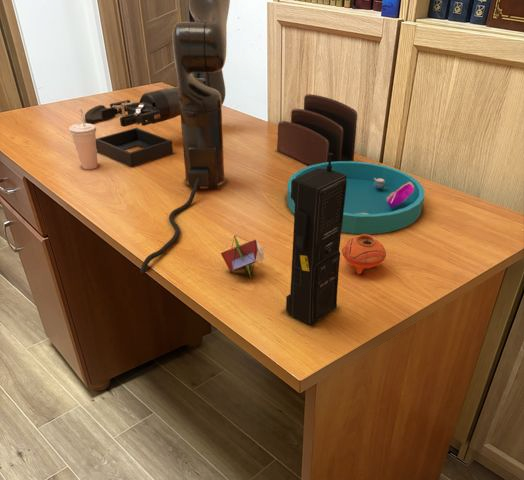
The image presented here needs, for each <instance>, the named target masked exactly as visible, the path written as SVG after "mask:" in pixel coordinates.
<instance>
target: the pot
mask: <svg viewBox="0 0 524 480" xmlns="http://www.w3.org/2000/svg"><path fill="white" fill-rule="evenodd" d="M341 253H342V257H343V258H344V259H345V261H346V262H348V263H349V264H350V265H351V266H354V268H355V272H356V275H361V273H362V272H363V271H364V269H370V268H374V267H375V268H379V266H380V265H381V264H382V263H383V262H384V261H385V259H386V257H387V251H386V249H385V247H384V244H382V242H380V241H379V240H378V239H377V238H375V237H374V236H373V234H358V235H357V236H354V237H352V238H349V239H348V240H347V241H346V242H345V244H344V245H343V246H342V248H341Z"/></svg>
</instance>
